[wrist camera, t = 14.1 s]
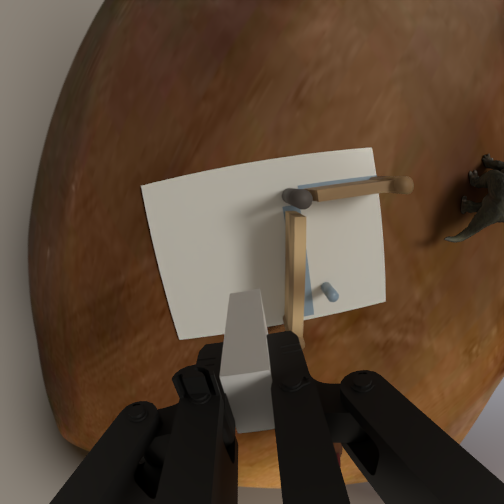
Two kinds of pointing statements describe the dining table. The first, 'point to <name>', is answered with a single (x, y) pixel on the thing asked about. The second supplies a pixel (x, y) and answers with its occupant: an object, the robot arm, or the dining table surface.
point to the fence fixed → (347, 190)
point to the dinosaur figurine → (484, 199)
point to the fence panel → (295, 273)
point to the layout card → (265, 239)
